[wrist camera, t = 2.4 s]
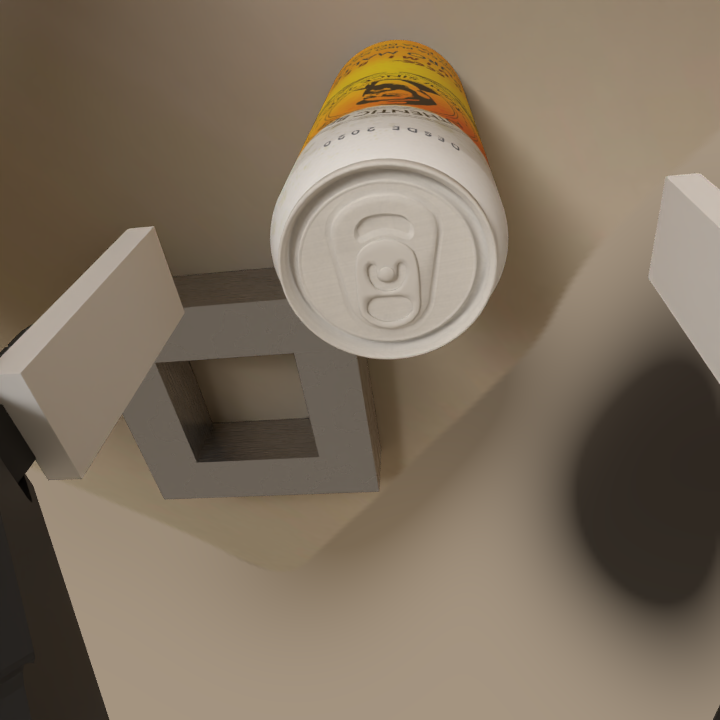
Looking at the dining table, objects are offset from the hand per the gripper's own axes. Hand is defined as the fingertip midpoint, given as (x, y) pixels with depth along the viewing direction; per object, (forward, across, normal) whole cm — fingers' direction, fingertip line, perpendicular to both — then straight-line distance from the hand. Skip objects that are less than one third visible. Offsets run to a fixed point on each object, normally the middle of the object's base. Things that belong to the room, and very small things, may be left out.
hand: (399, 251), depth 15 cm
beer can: (+14, 0, 0) cm, 14 cm away
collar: (+13, -10, -14) cm, 22 cm away
